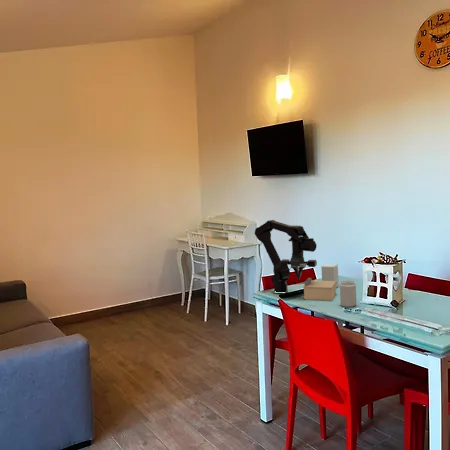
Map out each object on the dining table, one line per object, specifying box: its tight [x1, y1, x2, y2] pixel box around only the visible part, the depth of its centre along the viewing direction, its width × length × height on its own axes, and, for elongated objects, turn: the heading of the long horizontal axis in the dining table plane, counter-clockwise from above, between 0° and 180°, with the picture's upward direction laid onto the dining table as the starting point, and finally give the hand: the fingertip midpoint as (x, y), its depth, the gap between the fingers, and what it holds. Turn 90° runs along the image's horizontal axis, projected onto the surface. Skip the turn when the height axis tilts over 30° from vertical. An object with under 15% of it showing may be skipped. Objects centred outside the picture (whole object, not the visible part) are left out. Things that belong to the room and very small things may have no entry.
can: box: [339, 279, 357, 308], centre depth 230 cm, size 8×8×12 cm
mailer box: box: [303, 283, 337, 302], centre depth 249 cm, size 14×14×6 cm
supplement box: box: [321, 263, 340, 289], centre depth 268 cm, size 7×7×13 cm
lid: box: [303, 277, 336, 289], centre depth 249 cm, size 14×14×3 cm
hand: (298, 279), depth 253 cm, fingers closed
